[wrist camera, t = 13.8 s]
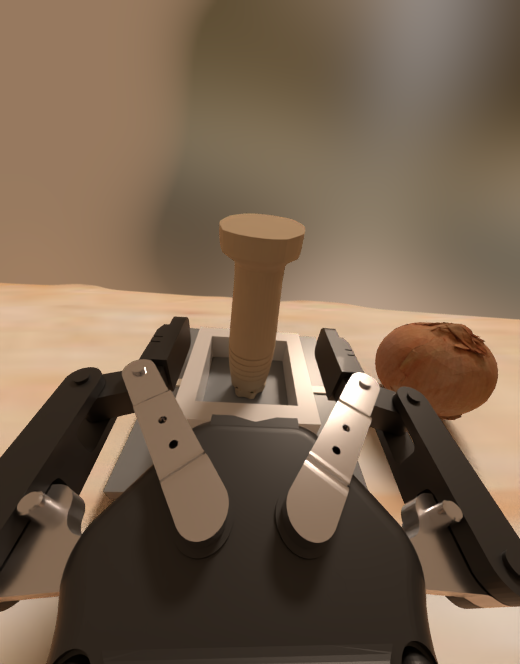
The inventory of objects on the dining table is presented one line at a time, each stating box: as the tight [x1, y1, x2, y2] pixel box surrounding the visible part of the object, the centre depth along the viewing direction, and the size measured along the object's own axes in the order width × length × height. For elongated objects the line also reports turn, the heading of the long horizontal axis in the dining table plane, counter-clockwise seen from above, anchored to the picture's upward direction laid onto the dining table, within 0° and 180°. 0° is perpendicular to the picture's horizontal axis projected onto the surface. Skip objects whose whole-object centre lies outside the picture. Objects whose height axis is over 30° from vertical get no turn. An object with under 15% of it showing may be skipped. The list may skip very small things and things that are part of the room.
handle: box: [219, 213, 305, 399], centre depth 17 cm, size 5×6×15 cm
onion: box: [375, 322, 498, 420], centre depth 22 cm, size 10×9×10 cm
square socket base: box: [103, 327, 368, 499], centre depth 21 cm, size 18×18×4 cm
